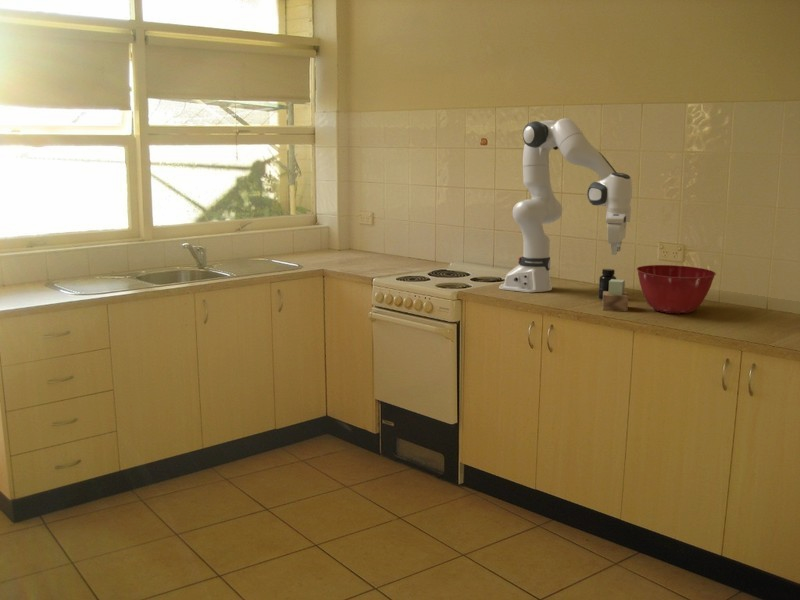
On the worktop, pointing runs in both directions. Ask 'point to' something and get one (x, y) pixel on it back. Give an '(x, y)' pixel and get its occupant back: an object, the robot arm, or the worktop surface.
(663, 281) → the mixing bowl
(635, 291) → the worktop surface
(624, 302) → the pinkish brown block
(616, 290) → the sage block
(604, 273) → the supplement bottle
